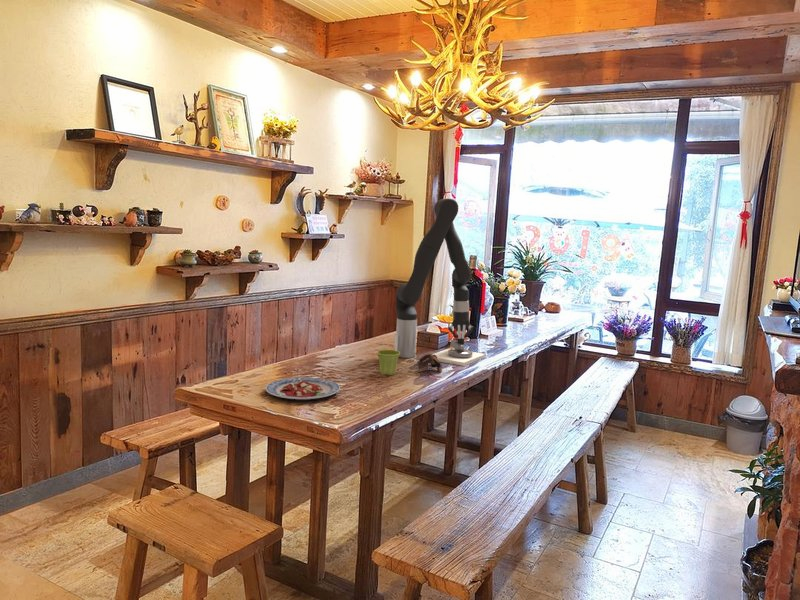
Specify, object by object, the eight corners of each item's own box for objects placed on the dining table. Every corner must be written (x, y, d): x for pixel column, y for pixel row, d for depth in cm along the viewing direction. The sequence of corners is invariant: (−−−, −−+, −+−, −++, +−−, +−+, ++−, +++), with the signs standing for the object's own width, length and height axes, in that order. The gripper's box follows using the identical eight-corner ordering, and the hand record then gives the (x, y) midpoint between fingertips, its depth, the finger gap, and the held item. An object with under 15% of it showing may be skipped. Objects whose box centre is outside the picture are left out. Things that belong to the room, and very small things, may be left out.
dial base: (463, 366, 254) (464, 355, 253) (427, 359, 263) (427, 349, 263) (485, 357, 272) (485, 347, 271) (450, 351, 282) (450, 342, 281)
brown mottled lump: (441, 376, 237) (432, 359, 235) (421, 383, 241) (412, 366, 239) (447, 362, 248) (438, 346, 246) (427, 369, 251) (419, 353, 250)
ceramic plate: (251, 391, 206) (251, 382, 206) (311, 379, 224) (311, 371, 224) (293, 409, 188) (293, 400, 187) (354, 395, 206) (354, 387, 205)
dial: (475, 357, 262) (476, 347, 262) (452, 357, 260) (452, 347, 259) (463, 348, 280) (463, 339, 279) (441, 349, 278) (441, 339, 277)
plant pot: (385, 377, 230) (386, 355, 229) (371, 372, 237) (372, 351, 236) (404, 374, 236) (404, 353, 235) (389, 369, 243) (390, 348, 242)
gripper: (473, 308, 278) (472, 344, 281) (446, 308, 277) (445, 344, 280) (476, 311, 271) (475, 347, 273) (448, 311, 270) (447, 348, 272)
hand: (460, 346), depth 277 cm, fingers closed
